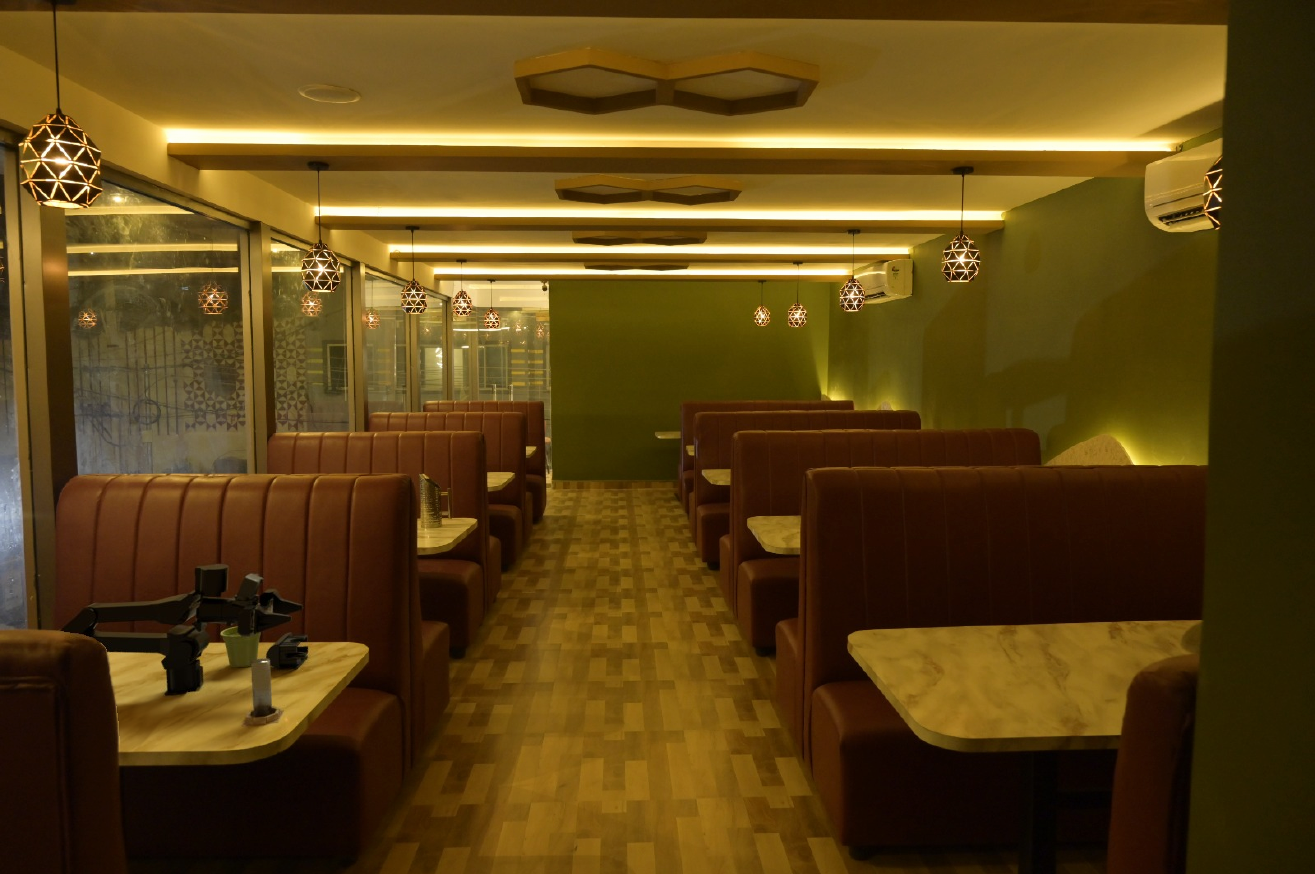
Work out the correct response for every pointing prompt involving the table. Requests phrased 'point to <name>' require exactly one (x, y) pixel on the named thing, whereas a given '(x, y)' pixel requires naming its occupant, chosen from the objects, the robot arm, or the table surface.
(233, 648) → the plant pot
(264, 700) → the peg
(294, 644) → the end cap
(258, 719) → the ring stand
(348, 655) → the table surface
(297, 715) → the table surface
